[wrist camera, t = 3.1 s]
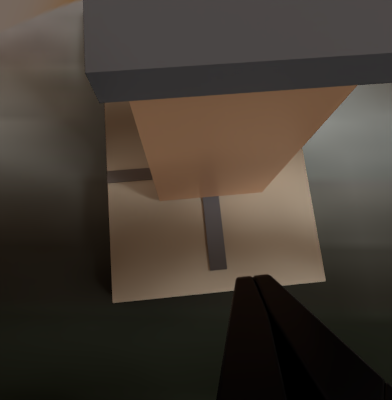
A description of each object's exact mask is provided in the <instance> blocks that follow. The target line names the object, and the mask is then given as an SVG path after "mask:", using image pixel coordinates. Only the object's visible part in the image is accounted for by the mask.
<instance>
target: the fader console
mask: <svg viewBox="0 0 392 400" xmlns="http://www.w3.org/2000/svg"><path fill="white" fill-rule="evenodd" d="M104 107H105V131H106V155H107V183H108V203H109V228H110V252H111V276H112V300H113V303H118V302H128V301H138V300H147V299H157V298H167V297H177V296H186V295H196V294H206V293H215V292H225V291H234V287H235V281H236V278H237V277H243V276H252V277H253V276H255V275H263V274H269V275H271V276H272V277H273V278H274V279H275V280H276V281H277V282H278V283H280V284H281V285H282V286H283V285H293V284H303V283H313V282H322V281H326V280H325V274H324V268H323V263H322V257H321V251H320V246H319V240H318V235H317V229H316V223H315V218H314V212H313V206H312V201H311V195H310V190H309V184H308V178H307V173H306V167H305V161H304V156H303V150H302V148H301V149H300V150H299V151H298V152H297V154H296V155H295V156H294V157H293V158H292V159H291V160H290V161H289V162H288V164H287V165H286V166H285V167H284V168H283V169H282V170H281V171H280V173H279V174H278V175H277V176H276V177H275V178H274V179H273V180H272V181H271V183H270V184H269V185H268V186H267V187H266V188H265V189H264V190H263V192H259V193H248V194H236V195H225V196H213V197H202V198H190V199H179V200H168V201H159V197H158V194H157V191H156V188H155V184H154V181H153V178H152V175H151V171H150V168H149V165H148V162H147V158H146V155H145V152H144V149H143V145H142V142H141V139H140V136H139V132H138V129H137V126H136V123H135V119H134V116H133V113H132V110H131V106H130V103H129V101H124V102H110V103H104Z"/></svg>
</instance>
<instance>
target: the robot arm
mask: <svg viewBox="0 0 392 400" xmlns="http://www.w3.org/2000/svg"><path fill="white" fill-rule="evenodd" d="M216 400H392V386H391V385H390V384H389V383H385V381H384V379H383V378H382V377H381V376H380V375H379V374H377V373H376V372H375V371H374V370H373V369H372V368H371V367H370V366H369V365H368V364H367V363H366V362H364V361H363V360H362V359H361V358H360V357H359V356H358V355H357V354H356V353H355V352H354V351H352V350H351V349H350V348H349V347H348V346H347V345H346V344H345V343H344V342H343V341H342V340H340V339H339V338H338V337H337V336H336V335H335V334H334V333H333V332H332V331H331V330H330V329H329V328H327V327H326V326H325V325H324V324H323V323H322V322H321V321H320V320H319V319H318V318H317V317H315V316H314V315H313V314H312V313H311V312H310V311H309V310H308V309H307V308H306V307H305V306H303V305H302V304H301V303H300V302H299V301H298V300H297V299H296V298H295V297H294V296H293V295H292V294H290V293H289V292H288V291H287V290H286V289H285V288H284V287H283V286H282V285H281V284H280V283H278V282H277V281H276V280H275V279H274V278H273V277H272V276H271V275H269V274H263V275H255V276H253V277H252V276H243V277H237V278H236V281H235V287H234V293H233V299H232V305H231V312H230V318H229V324H228V330H227V337H226V343H225V349H224V355H223V361H222V368H221V374H220V380H219V386H218V393H217V399H216Z"/></svg>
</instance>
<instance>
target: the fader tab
mask: <svg viewBox="0 0 392 400" xmlns="http://www.w3.org/2000/svg"><path fill="white" fill-rule="evenodd" d="M83 17H84V52H85V74H86V76H87V78H88V80H89V82H90V84H91V86H92V88H93V90H94V93H95V95H96V97H97V99H98V101H99V103H110V102H124V101H129V103H130V106H131V110H132V113H133V116H134V119H135V123H136V126H137V129H138V132H139V136H140V139H141V142H142V145H143V149H144V152H145V155H146V158H147V162H148V165H149V168H150V171H151V175H152V178H153V181H154V184H155V188H156V191H157V194H158V197H159V201H168V200H179V199H190V198H202V197H213V196H225V195H236V194H248V193H259V192H263V190H264V189H265V188H266V187H267V186H268V185H269V184H270V183H271V181H272V180H273V179H274V178H275V177H276V176H277V175H278V174H279V173H280V171H281V170H282V169H283V168H284V167H285V166H286V165H287V164H288V162H289V161H290V160H291V159H292V158H293V157H294V156H295V155H296V154H297V152H298V151H299V150H300V149H301V148H302V147H303V146H304V145H305V143H306V142H307V141H308V140H309V139H310V138H311V137H312V136H313V134H314V133H315V132H316V131H317V130H318V129H319V128H320V127H321V126H322V124H323V123H324V122H325V121H326V120H327V119H328V118H329V117H330V115H331V114H332V113H333V112H334V111H335V110H336V109H337V108H338V107H339V105H340V104H341V103H342V102H343V101H344V100H345V99H346V98H347V96H348V95H349V94H350V93H351V92H352V91H353V90H354V89H355V87H356V86H357V85H365V84H379V83H392V0H83Z"/></svg>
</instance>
